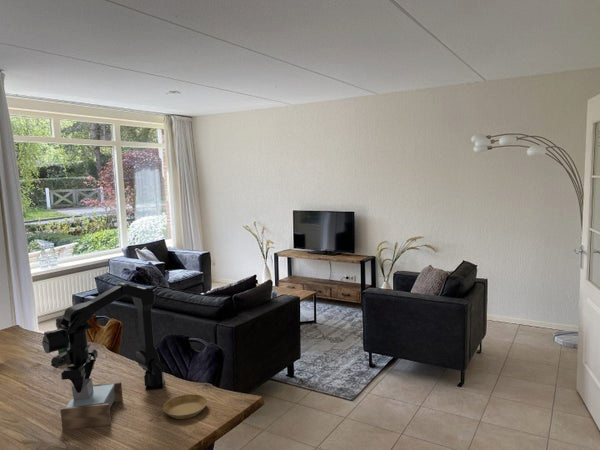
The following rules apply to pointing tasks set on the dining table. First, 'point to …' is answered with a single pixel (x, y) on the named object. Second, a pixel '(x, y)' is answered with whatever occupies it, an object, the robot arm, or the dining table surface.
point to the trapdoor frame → (90, 412)
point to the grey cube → (83, 390)
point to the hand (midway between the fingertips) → (82, 387)
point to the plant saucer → (185, 406)
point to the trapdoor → (97, 396)
